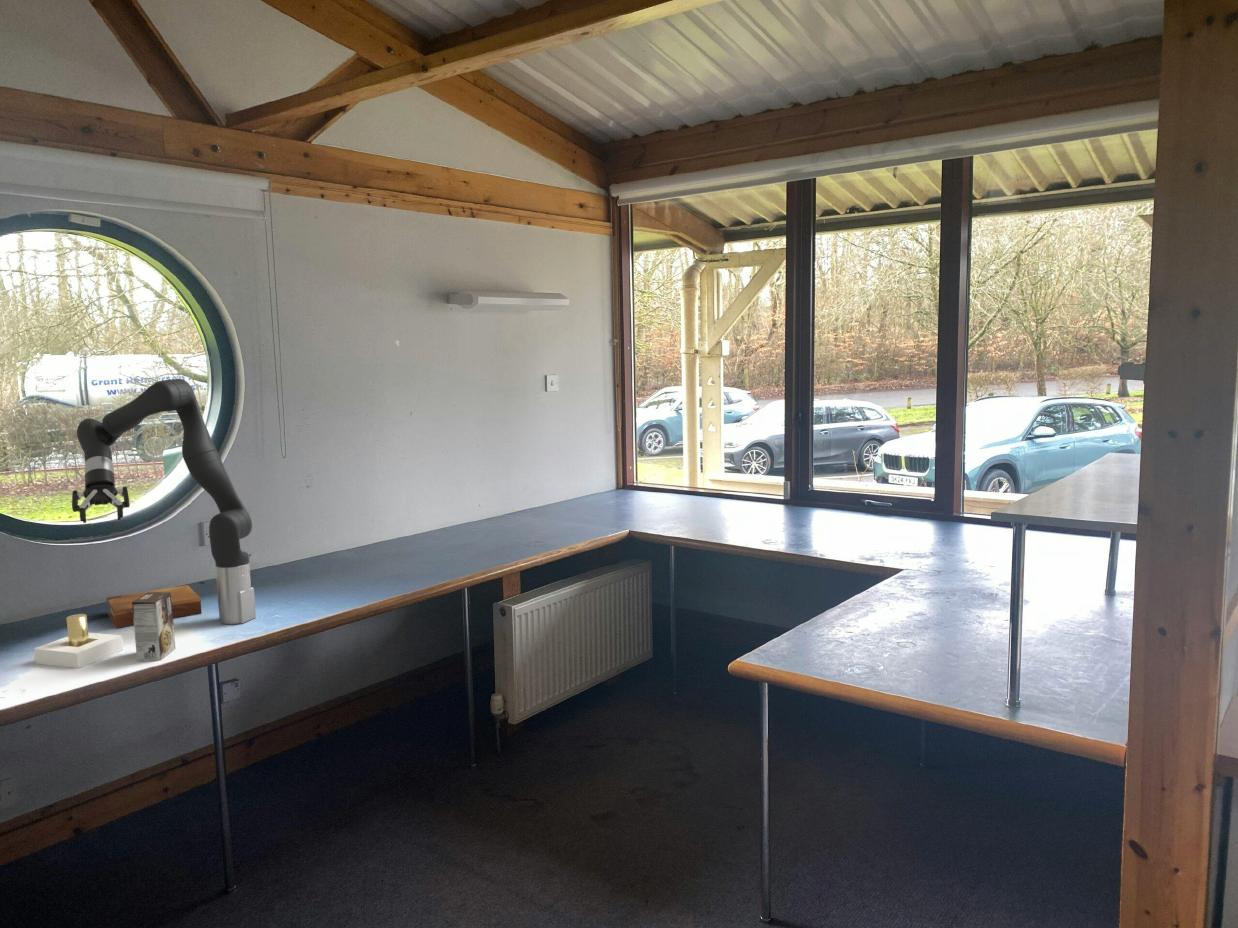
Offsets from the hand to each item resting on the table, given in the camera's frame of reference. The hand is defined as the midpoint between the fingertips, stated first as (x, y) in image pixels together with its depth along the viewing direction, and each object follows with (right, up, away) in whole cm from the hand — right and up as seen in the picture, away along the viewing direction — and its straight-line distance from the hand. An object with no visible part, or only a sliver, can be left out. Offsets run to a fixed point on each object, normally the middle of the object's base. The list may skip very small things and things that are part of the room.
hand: (102, 519), depth 247 cm
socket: (+5, -35, -18) cm, 40 cm away
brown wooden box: (+5, -31, +20) cm, 37 cm away
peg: (+5, -35, -17) cm, 40 cm away
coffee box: (+25, -35, -17) cm, 46 cm away
